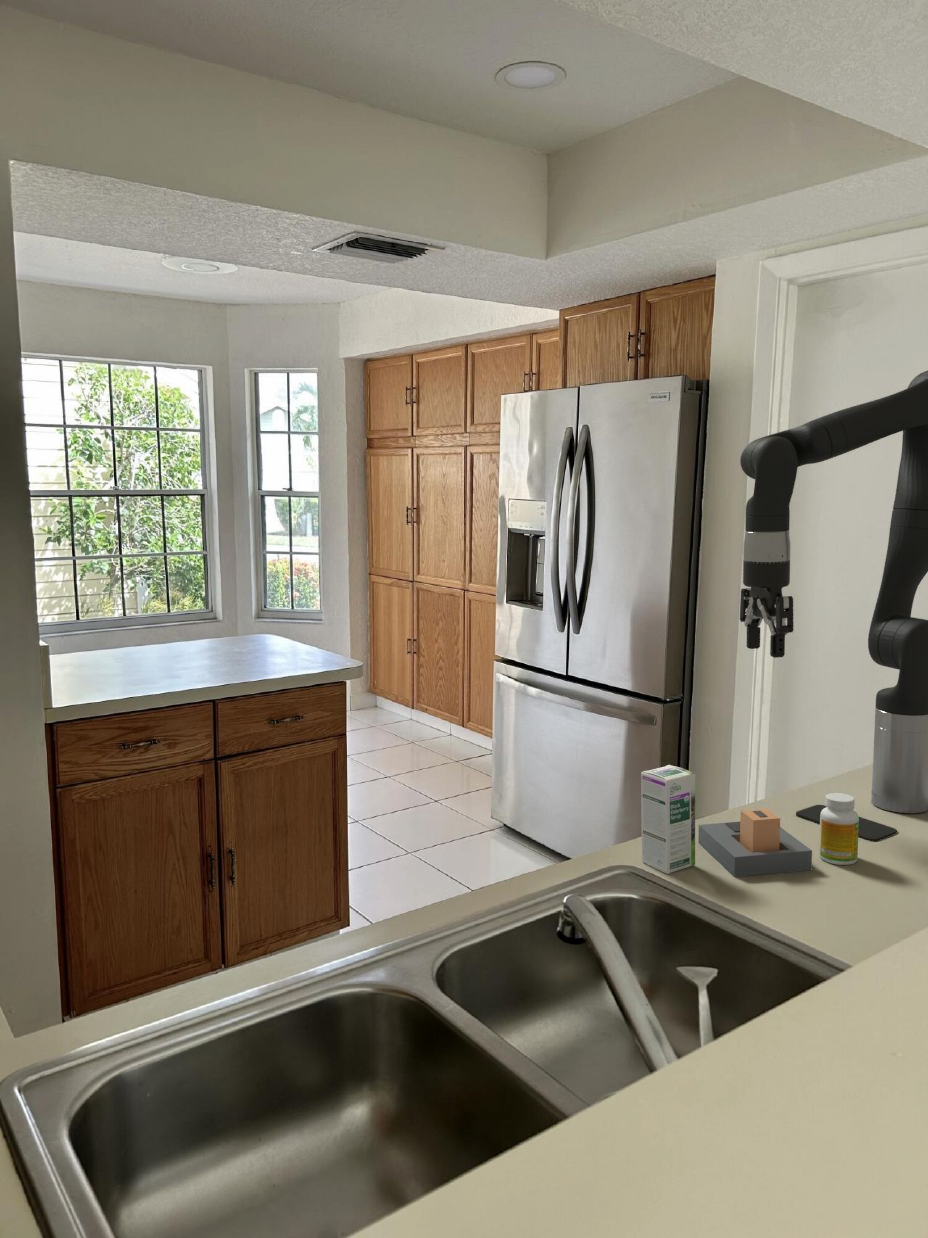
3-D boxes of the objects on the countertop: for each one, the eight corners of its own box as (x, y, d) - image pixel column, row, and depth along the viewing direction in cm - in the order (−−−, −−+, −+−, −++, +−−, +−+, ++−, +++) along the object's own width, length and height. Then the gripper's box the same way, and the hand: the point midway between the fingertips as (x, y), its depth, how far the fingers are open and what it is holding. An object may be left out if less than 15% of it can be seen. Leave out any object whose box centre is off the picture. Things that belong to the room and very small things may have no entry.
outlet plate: (769, 837, 147) (769, 818, 146) (811, 870, 134) (812, 849, 134) (698, 842, 145) (698, 823, 145) (734, 876, 132) (734, 855, 132)
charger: (765, 852, 140) (766, 807, 139) (778, 863, 136) (780, 817, 135) (739, 854, 139) (740, 809, 138) (752, 865, 135) (753, 819, 134)
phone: (873, 840, 144) (792, 812, 156) (873, 845, 144) (792, 817, 156) (900, 830, 148) (819, 803, 160) (900, 834, 148) (819, 808, 160)
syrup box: (667, 875, 133) (668, 779, 131) (639, 861, 138) (640, 769, 136) (695, 866, 136) (697, 772, 134) (667, 853, 141) (668, 762, 139)
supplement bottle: (860, 867, 135) (863, 804, 133) (822, 865, 136) (824, 802, 134) (853, 852, 140) (855, 792, 139) (816, 850, 141) (818, 790, 140)
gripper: (809, 560, 147) (807, 659, 149) (767, 554, 161) (765, 644, 163) (766, 562, 146) (764, 661, 148) (726, 555, 160) (725, 646, 162)
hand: (764, 652), depth 156 cm, fingers open, 8 cm apart
